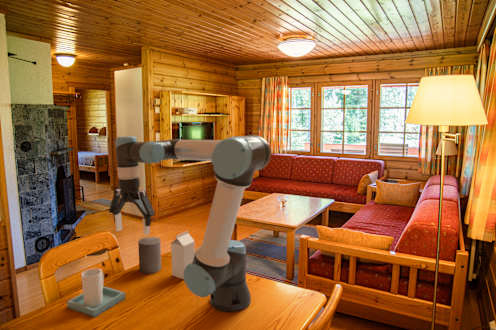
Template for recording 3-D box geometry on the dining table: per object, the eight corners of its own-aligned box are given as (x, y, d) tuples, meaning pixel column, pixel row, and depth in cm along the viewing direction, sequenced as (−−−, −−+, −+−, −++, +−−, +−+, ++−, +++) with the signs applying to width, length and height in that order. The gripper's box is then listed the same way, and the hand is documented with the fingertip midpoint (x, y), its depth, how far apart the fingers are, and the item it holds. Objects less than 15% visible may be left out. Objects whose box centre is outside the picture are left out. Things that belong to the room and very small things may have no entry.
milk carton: (195, 273, 153) (194, 232, 150) (184, 280, 147) (183, 237, 145) (183, 269, 157) (182, 229, 154) (172, 276, 151) (170, 234, 148)
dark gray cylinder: (134, 272, 155) (133, 240, 152) (147, 263, 164) (146, 232, 162) (154, 275, 152) (152, 242, 150) (165, 266, 161) (164, 235, 159)
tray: (125, 298, 133) (124, 292, 132) (94, 317, 120) (94, 311, 120) (99, 290, 139) (98, 284, 138) (67, 307, 126) (67, 301, 126)
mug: (96, 309, 124) (94, 277, 122) (79, 307, 125) (77, 276, 124) (112, 295, 134) (110, 265, 132) (96, 293, 135) (94, 264, 133)
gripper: (162, 177, 129) (165, 232, 131) (111, 174, 139) (115, 226, 142) (148, 180, 122) (152, 239, 125) (96, 177, 132) (100, 231, 135)
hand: (132, 232), depth 133 cm, fingers open, 13 cm apart
